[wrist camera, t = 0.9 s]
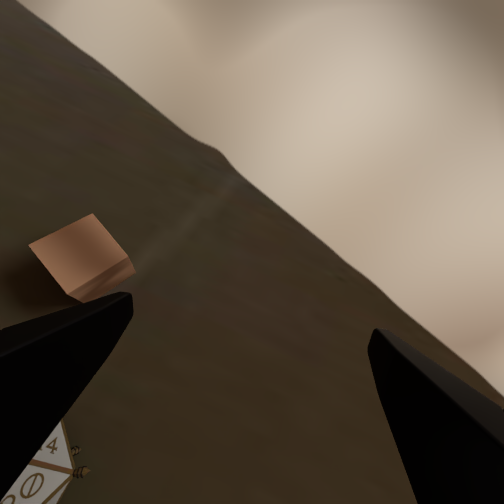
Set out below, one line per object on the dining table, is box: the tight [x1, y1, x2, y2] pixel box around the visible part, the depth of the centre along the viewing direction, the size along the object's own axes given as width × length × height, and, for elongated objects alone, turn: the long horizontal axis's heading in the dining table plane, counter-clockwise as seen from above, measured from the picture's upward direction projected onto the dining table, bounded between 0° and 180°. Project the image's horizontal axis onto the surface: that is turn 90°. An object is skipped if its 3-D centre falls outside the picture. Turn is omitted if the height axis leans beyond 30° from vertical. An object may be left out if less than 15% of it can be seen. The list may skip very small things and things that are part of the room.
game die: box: [0, 418, 90, 504], centre depth 14 cm, size 9×8×10 cm
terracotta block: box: [29, 213, 136, 303], centre depth 22 cm, size 5×5×5 cm
